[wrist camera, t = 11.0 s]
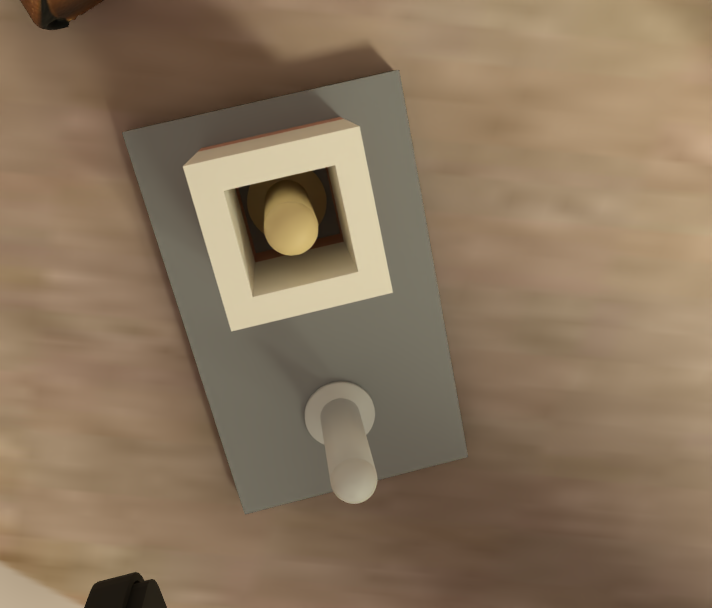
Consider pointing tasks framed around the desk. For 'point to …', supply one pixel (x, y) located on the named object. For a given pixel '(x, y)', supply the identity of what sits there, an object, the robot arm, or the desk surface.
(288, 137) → the sleeve
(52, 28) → the sunglasses case
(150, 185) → the pin board
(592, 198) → the desk surface
